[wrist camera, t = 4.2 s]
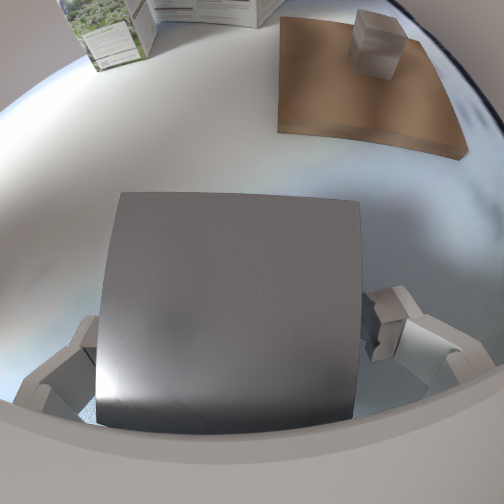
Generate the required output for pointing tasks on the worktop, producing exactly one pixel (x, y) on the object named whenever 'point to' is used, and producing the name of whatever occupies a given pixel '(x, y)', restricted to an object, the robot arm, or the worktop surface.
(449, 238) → the worktop surface
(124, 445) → the robot arm
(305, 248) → the grey rectangular block
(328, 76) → the tang block
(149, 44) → the syrup box
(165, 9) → the supplement box
